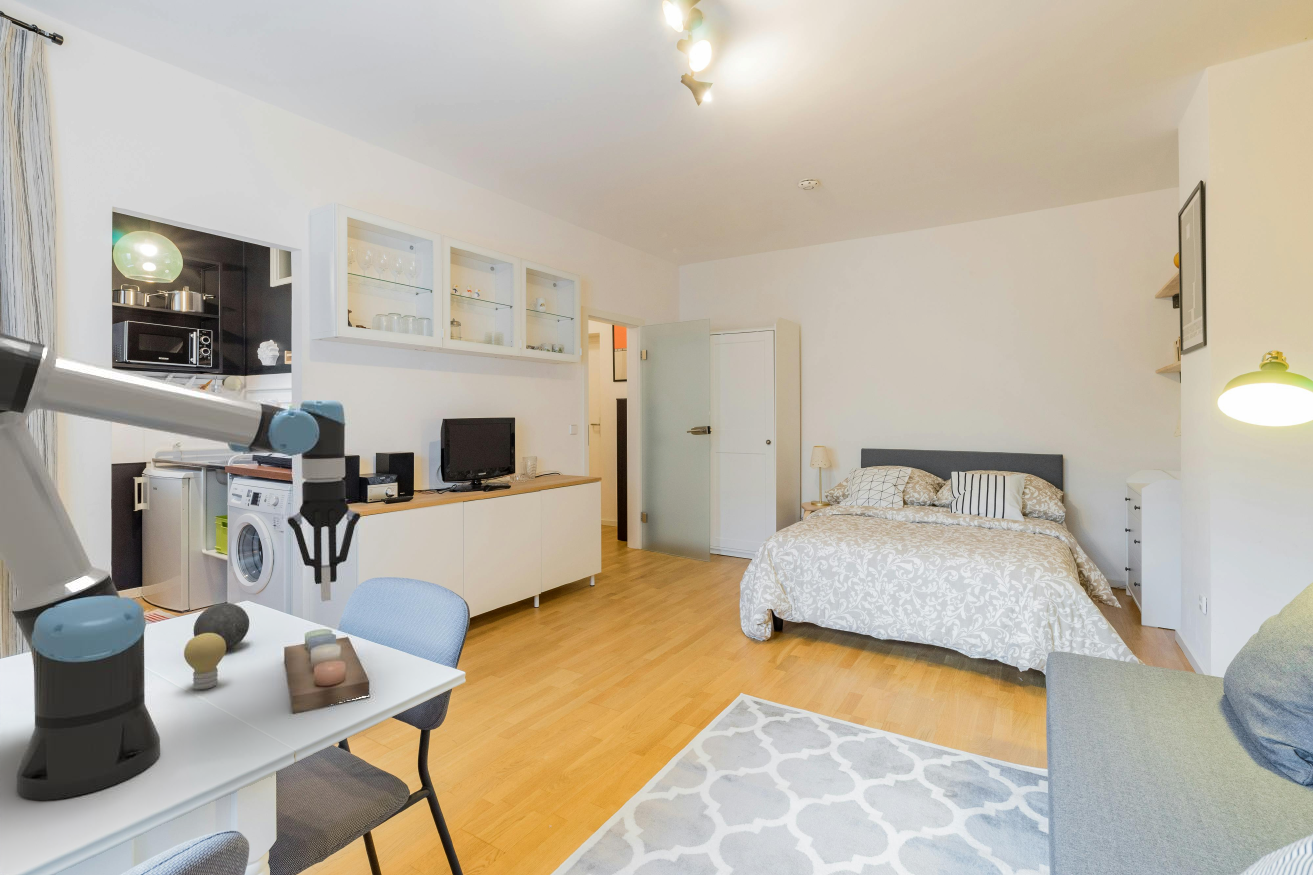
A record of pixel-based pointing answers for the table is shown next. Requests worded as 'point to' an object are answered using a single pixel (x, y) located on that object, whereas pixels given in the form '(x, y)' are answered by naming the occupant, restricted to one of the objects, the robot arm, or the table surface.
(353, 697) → the button board
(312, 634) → the sage button
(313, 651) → the cream button
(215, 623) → the decorative ball
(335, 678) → the terracotta button
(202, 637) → the light bulb
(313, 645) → the slate button
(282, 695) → the table surface
